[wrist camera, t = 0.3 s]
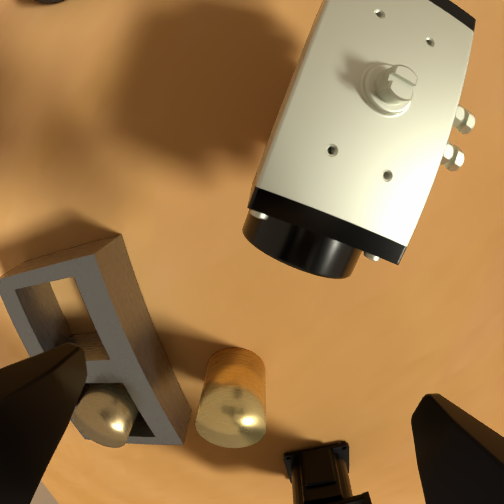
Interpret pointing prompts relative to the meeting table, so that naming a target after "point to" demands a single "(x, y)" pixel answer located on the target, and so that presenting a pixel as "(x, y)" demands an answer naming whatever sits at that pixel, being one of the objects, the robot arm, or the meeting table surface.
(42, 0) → the smart speaker
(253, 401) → the brass domed cylinder
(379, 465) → the meeting table surface
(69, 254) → the jig
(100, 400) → the dull gold rounded cylinder
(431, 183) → the pneumatic valve
